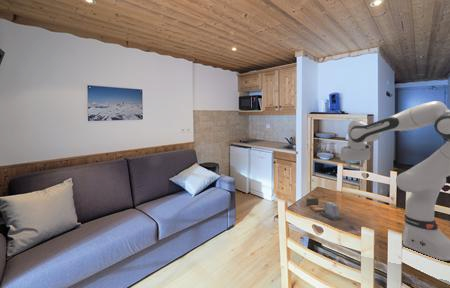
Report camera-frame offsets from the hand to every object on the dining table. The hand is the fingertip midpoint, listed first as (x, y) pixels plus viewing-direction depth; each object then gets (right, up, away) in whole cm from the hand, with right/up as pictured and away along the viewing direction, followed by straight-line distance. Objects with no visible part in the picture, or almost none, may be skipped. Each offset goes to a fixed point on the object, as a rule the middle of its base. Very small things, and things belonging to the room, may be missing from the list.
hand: (355, 167), depth 142 cm
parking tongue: (-13, -33, +4) cm, 36 cm away
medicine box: (-13, -33, +4) cm, 36 cm away
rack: (-18, -32, +18) cm, 41 cm away
